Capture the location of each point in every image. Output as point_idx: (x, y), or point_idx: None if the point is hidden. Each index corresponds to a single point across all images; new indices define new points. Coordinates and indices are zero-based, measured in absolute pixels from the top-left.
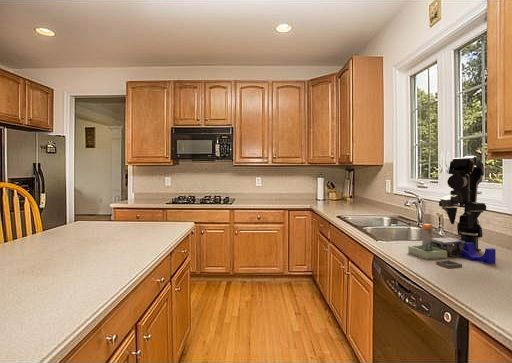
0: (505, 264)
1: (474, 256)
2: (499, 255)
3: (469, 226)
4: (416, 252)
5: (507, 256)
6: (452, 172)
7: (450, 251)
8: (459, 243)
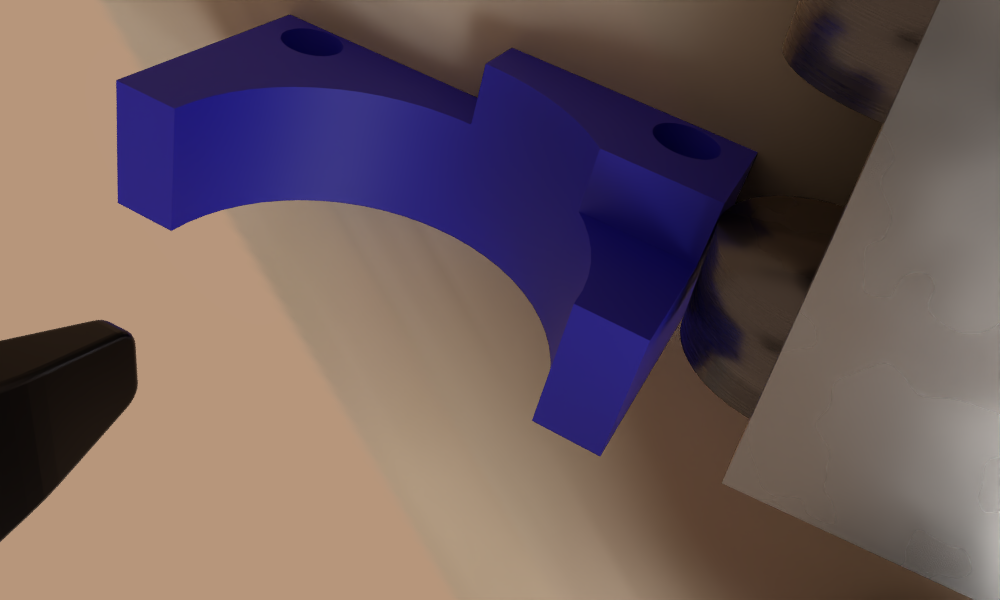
0: None
1: (498, 139)
2: (519, 596)
3: (74, 328)
4: None
5: (454, 596)
6: None
7: None
8: (782, 346)
